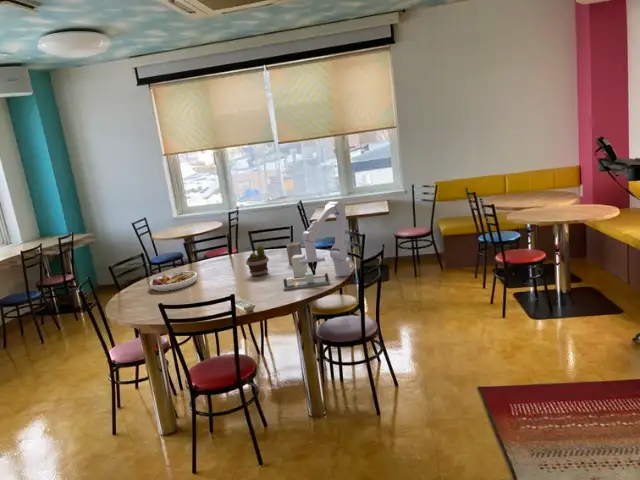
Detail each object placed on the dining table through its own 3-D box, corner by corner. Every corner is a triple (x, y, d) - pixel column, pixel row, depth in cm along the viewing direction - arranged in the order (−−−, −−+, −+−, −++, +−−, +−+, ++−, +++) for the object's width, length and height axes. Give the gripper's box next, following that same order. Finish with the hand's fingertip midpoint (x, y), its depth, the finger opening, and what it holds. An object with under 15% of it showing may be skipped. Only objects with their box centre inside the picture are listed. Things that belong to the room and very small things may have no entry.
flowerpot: (252, 279, 325) (247, 249, 321) (245, 274, 339) (240, 245, 335) (274, 274, 331) (269, 244, 326) (266, 269, 344) (261, 240, 340)
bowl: (183, 276, 360) (181, 265, 358) (206, 281, 339) (204, 269, 337) (143, 289, 340) (141, 278, 338) (165, 295, 318) (162, 283, 317)
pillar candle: (295, 260, 357) (291, 239, 354) (306, 261, 351) (302, 239, 348) (286, 264, 350) (282, 243, 346) (297, 265, 344) (293, 243, 341)
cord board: (329, 279, 301) (327, 270, 299) (329, 284, 291) (327, 275, 290) (285, 285, 302) (283, 276, 301) (283, 290, 292) (282, 281, 291)
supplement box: (305, 276, 314) (302, 257, 311) (293, 277, 315) (290, 258, 313) (308, 273, 321) (305, 253, 318) (296, 274, 322) (293, 254, 320)
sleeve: (313, 279, 298) (312, 271, 297) (313, 281, 294) (312, 273, 293) (306, 280, 298) (305, 272, 297) (306, 282, 294) (305, 274, 293)
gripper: (297, 255, 288) (301, 278, 291) (323, 251, 288) (326, 274, 291) (298, 252, 295) (302, 274, 298) (323, 248, 295) (326, 271, 297)
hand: (314, 274), depth 295 cm, fingers closed
